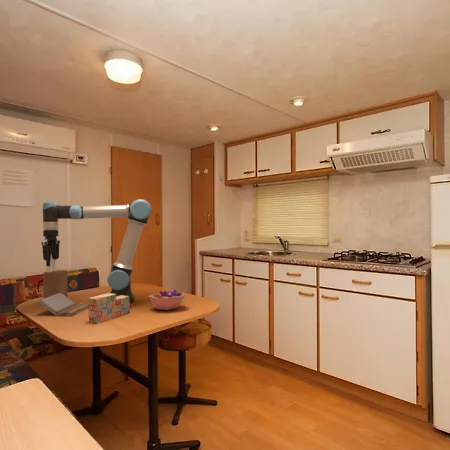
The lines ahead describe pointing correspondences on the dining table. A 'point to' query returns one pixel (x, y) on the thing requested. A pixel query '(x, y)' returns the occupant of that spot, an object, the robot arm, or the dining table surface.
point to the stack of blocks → (107, 307)
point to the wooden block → (55, 283)
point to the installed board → (73, 310)
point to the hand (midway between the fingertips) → (51, 271)
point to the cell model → (167, 299)
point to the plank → (56, 303)
